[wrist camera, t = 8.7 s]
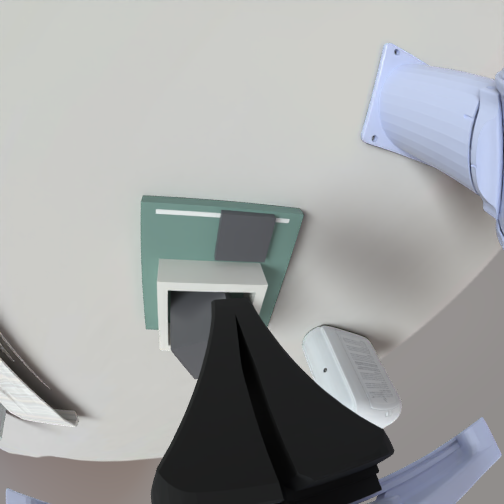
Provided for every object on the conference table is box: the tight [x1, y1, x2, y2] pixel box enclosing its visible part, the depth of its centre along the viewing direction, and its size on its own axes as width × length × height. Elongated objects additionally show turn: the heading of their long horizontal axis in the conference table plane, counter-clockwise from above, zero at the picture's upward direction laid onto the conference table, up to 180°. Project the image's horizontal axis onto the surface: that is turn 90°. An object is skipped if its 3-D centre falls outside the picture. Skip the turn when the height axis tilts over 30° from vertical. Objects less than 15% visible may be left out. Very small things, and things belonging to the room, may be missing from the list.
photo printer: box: [302, 326, 402, 429], centre depth 27 cm, size 10×4×12 cm, turn 56°
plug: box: [170, 290, 232, 379], centre depth 20 cm, size 4×4×6 cm
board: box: [141, 196, 304, 351], centre depth 21 cm, size 11×12×4 cm
